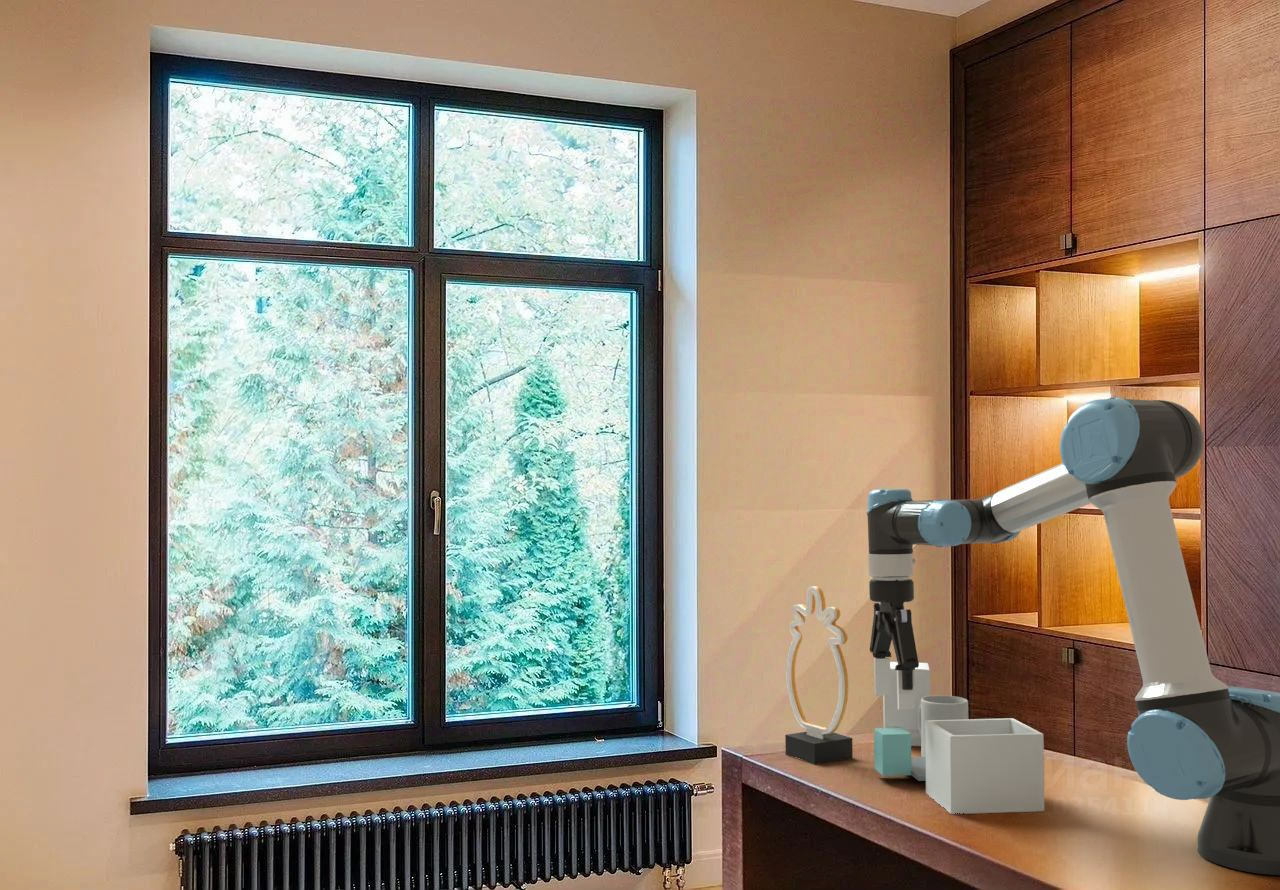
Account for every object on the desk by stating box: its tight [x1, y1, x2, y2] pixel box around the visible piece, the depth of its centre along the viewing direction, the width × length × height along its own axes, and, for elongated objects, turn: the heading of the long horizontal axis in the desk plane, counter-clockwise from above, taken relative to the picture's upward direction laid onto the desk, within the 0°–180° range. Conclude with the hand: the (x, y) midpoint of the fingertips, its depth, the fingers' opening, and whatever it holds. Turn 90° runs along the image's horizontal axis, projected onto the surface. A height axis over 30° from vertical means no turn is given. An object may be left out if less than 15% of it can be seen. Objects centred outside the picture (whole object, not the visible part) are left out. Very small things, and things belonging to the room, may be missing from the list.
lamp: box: [785, 585, 854, 765], centre depth 227 cm, size 17×9×32 cm, turn 30°
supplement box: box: [882, 661, 931, 748], centre depth 238 cm, size 9×9×15 cm
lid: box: [873, 727, 926, 782], centre depth 210 cm, size 13×21×8 cm, turn 95°
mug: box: [918, 694, 969, 757], centre depth 225 cm, size 12×8×11 cm
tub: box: [925, 717, 1045, 815], centre depth 195 cm, size 12×15×12 cm
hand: (894, 702), depth 209 cm, fingers open, 13 cm apart
